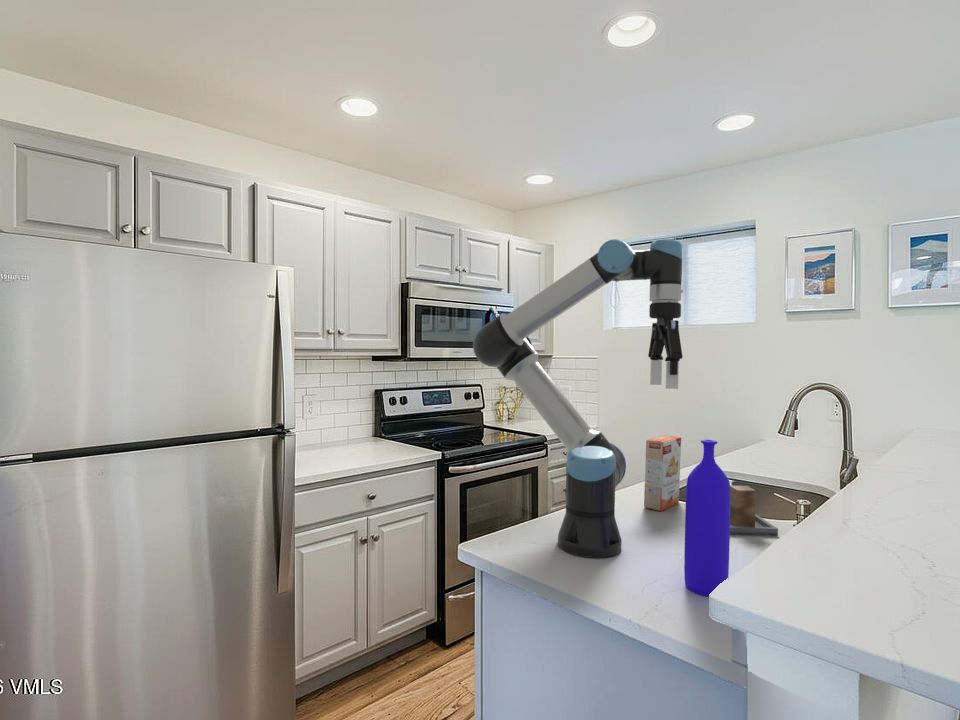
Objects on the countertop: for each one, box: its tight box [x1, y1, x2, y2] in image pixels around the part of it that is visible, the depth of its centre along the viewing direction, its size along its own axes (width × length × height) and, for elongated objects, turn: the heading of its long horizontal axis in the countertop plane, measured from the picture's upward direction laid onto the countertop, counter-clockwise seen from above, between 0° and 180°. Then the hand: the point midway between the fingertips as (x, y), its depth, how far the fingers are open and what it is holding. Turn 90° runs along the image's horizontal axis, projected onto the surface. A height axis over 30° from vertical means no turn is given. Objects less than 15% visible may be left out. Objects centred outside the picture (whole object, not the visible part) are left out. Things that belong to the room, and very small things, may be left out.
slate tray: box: [730, 513, 779, 537], centre depth 144 cm, size 13×13×2 cm
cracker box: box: [643, 434, 682, 512], centre depth 163 cm, size 14×6×21 cm, turn 138°
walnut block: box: [730, 484, 757, 527], centre depth 144 cm, size 5×5×10 cm
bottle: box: [683, 439, 731, 598], centre depth 106 cm, size 8×8×30 cm
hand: (663, 386), depth 133 cm, fingers open, 13 cm apart
